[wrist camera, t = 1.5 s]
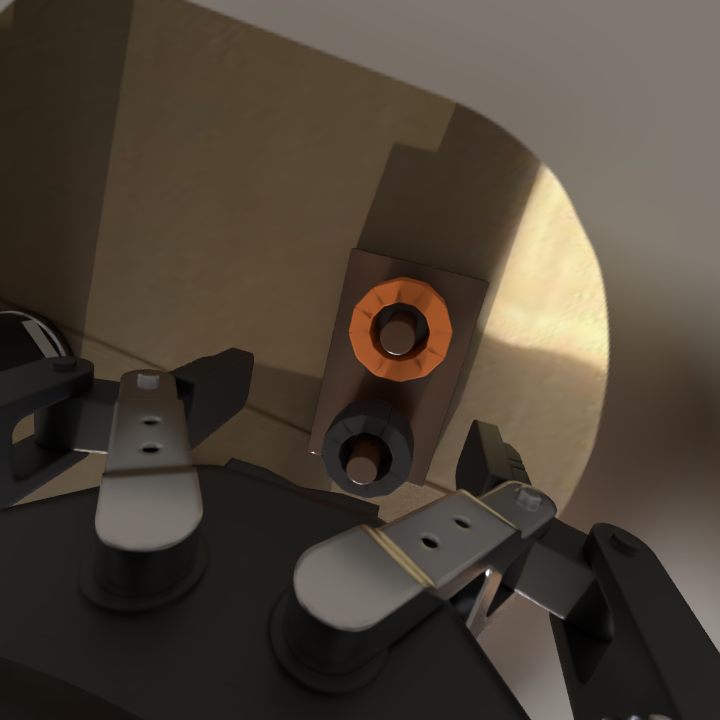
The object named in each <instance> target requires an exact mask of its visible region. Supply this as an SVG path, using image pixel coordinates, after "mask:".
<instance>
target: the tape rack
mask: <svg viewBox="0 0 720 720" xmlns="http://www.w3.org/2000/svg"><path fill="white" fill-rule="evenodd" d="M399 277H402V278H403V277H407V278H411V279H415V280H419V281H423V282H426V284H427V283H428V284H429V285H430V286H431V287H432V288H433V289H434V290H435V291H436V292H437V293H438V294H439V295H440V296H441V297H442V298H443V299H444V301H445V303H446V307H447V311H448V315H449V319H450V323H451V327H452V331H453V332H452V337H451V340H450V343H449V347H448V350H447V353H446V356H445V357H444V360H443V361H441V362H440V363H439V364H438V365H437V366H436V367H435V368H434V369H433V370H432V371H430V372H429V373H428V374H427V375H425V376H423V377H419V378H415V379H410V380H406V381H402V382H400V381H399V382H398V381H395V380H391V379H387V378H384V377H380V376H377V375H375V374H373V373H372V372H371V371H370V370H369V369H368V368H367V367H366V366H365V365H364V364H363V363H362V362H361V361H360V360H359V359H358V358H357V356H356V355H355V352H354V348H353V345H352V342H351V338H350V335H349V328H350V324H351V319H352V315H353V311H354V308H355V306H356V304H357V303H358V302H359V301H360V300H361V299H362V298H363V297H364V296H365V295H366V294H367V293H368V292H369V291H370V290H371V289H372V288H373V287H375V286H376V285H378V284H379V283H382V282H385V281H389V280H392V279H396V278H399ZM488 286H489V282H488V281H485V280H481V279H477V278H473V277H469V276H465V275H461V274H457V273H453V272H449V271H445V270H441V269H437V268H433V267H429V266H425V265H421V264H417V263H413V262H409V261H405V260H401V259H397V258H393V257H389V256H385V255H381V254H377V253H373V252H369V251H365V250H361V249H357V248H352V249H351V253H350V258H349V262H348V267H347V272H346V276H345V281H344V285H343V290H342V294H341V299H340V304H339V308H338V313H337V317H336V322H335V326H334V331H333V336H332V340H331V345H330V349H329V354H328V358H327V363H326V368H325V372H324V377H323V381H322V386H321V390H320V395H319V400H318V404H317V409H316V413H315V418H314V422H313V427H312V432H311V436H310V441H309V445H308V450H307V452H310V453H313V454H316V455H320V456H321V450H322V445H323V441H324V437H325V434H326V432H327V430H328V429H329V427H330V425H331V423H332V422H333V420H334V418H335V416H337V415H338V414H339V413H340V412H341V411H342V410H343V409H344V408H345V407H346V406H347V405H348V404H350V403H352V402H357V401H361V400H366V399H375V400H378V401H381V402H385V403H388V404H392V406H394V407H396V408H397V409H398V410H399V411H400V412H401V413H402V414H403V415H404V416H405V417H406V418H407V419H408V421H409V422H410V426H411V429H412V433H413V436H414V453H413V462H412V465H411V469H410V472H409V475H408V478H407V480H406V482H408V483H411V484H414V485H418V486H421V487H423V484H424V481H425V478H426V475H427V472H428V469H429V466H430V463H431V460H432V457H433V454H434V450H435V447H436V444H437V441H438V438H439V435H440V432H441V429H442V426H443V423H444V420H445V417H446V414H447V411H448V408H449V405H450V402H451V399H452V396H453V393H454V389H455V386H456V383H457V380H458V377H459V374H460V371H461V368H462V365H463V362H464V359H465V356H466V353H467V350H468V347H469V344H470V341H471V338H472V335H473V332H474V329H475V325H476V322H477V319H478V316H479V313H480V310H481V307H482V304H483V301H484V298H485V295H486V292H487V289H488ZM376 327H377V330H378V334H379V337H380V341H381V344H382V346H383V348H384V349H385V350H386V351H387V352H389V353H391V354H394V355H401V354H404V353H406V352H408V351H409V350H410V349H412V348H416V347H417V346H418V345H419V344H420V343H421V342H422V341H423V340H425V339H426V338H427V334H428V331H429V326H428V322H427V318H426V317H425V316H424V315H423V314H422V313H421V312H420V311H419V310H418V309H417V308H416V307H415V306H413V305H409V304H405V303H401V302H398V303H394V304H391V305H387V306H384V307H383V308H382V309H381V310H380V311H379V313H378V317H377V321H376ZM348 441H349V444H350V447H351V449H352V450H353V451H352V454H351V456H350V459H349V461H348V464H347V467H346V470H347V474H348V476H349V478H350V479H351V480H352V481H354V482H355V483H358V484H368V483H370V482H372V481H373V480H374V479H375V478H376V475H377V471H378V467H379V463H380V459H385V458H386V457H387V456H388V455H389V454H390V453H391V450H390V447H389V445H388V444H387V443H385V442H384V441H383V440H382V439H381V438H380V437H379V436H376V435H372V434H369V433H366V432H364V433H359V434H354V435H351V436H350V437H349V438H348Z"/></svg>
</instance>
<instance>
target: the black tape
mask: <svg viewBox="0 0 720 720" xmlns="http://www.w3.org/2000/svg"><path fill="white" fill-rule="evenodd" d="M364 432H366V433H369V434H372V435H376V436H379V437H380V438H381V439H382V440H383V441H384V442H385V443H387V444H388V445H389V447H390V450H391V453H390V454H389V455H388V456H387V457H386V458H385V459H380V463H379V467H378V471H377V475H376V478H375V479H374V480H373V481H372V482H370V483H368V484H358V483H355V482H354V481H352V480H351V479H350V478H349V476H348V474H347V470H346V467H347V464H348V461H349V459H350V456H351V454H352V451H353V450H352V449H351V447H350V444H349V441H348V438H349V437H350V436H351V435H354V434H359V433H364ZM413 453H414V436H413V433H412V429H411V426H410V422H409V421H408V419H407V418H406V417H405V416H404V415H403V414H402V413H401V412H400V411H399V410H398V409H397V408H396V407H394V406H392V404H388V403H385V402H381V401H378V400H375V399H366V400H361V401H357V402H352V403H350V404H348V405H347V406H346V407H345V408H344V409H343V410H342V411H341V412H340V413H339V414H338V415H337V416H335V418H334V420H333V422H332V423H331V425H330V427H329V429H328V430H327V432H326V434H325V437H324V441H323V445H322V450H321V458H322V461H323V464H324V467H325V470H326V472H327V475H328V476H329V477H330V478H331V479H332V480H333V481H334V482H335V483H336V484H337V485H338V486H339V487H340V488H341V489H342V490H345V492H347V493H350V494H354V495H357V496H360V497H363V498H373V497H380V496H386V495H389V494H391V493H392V492H393V491H395V490H396V489H397V488H398V487H400V486H401V485H402V484H403V483H405V482H406V480H407V478H408V475H409V472H410V469H411V465H412V462H413Z"/></svg>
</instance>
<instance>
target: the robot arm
mask: <svg viewBox="0 0 720 720" xmlns="http://www.w3.org/2000/svg"><path fill="white" fill-rule="evenodd" d="M253 364H254V355H253V353H250V352H247V351H243V350H240V349H237V348H230V349H228V350H226V351H224V352H221V353H219V354H217V355H215V356H208V357H202V358H199V359H197V360H195V361H193V362H192V363H188V364H186V365H185V366H182V367H179V368H177V369H175V370H173V371H171V372H168V373H166V372H163V371H158V370H150V369H143V370H134V371H130V372H127V373H125V374H123V375H122V377H121V381H120V382H116V381H109V380H102V379H95V378H94V364H93V363H92V362H90V361H88V360H85V359H82V358H77V357H73V356H72V353H71V350H70V348H69V346H68V344H67V342H66V340H65V339H64V337H63V336H62V334H61V333H60V332H59V331H58V330H57V328H56V327H55V326H54V325H52V324H51V323H50V322H49V321H48V320H46V319H45V318H43V317H42V316H40V315H38V314H36V313H33V312H30V311H26V310H11V311H4V312H0V720H531V719H530V718H529V716H528V715H527V713H526V712H525V710H524V709H523V707H522V706H521V705H520V703H519V702H518V700H517V699H516V697H515V696H514V694H513V693H512V691H511V690H510V688H509V687H508V685H507V684H506V683H505V681H504V680H503V678H502V677H501V675H500V674H499V672H498V671H497V669H496V668H495V667H494V665H493V664H492V662H491V661H490V659H489V658H488V656H487V655H486V653H485V652H484V651H483V649H482V648H481V646H480V645H479V643H478V642H477V640H476V639H477V638H478V636H479V635H480V634H481V633H482V632H483V631H484V630H485V629H486V628H487V627H488V626H489V625H490V624H491V623H492V622H493V621H494V620H495V619H496V618H497V617H498V616H499V615H500V614H501V613H502V612H503V611H504V610H505V608H507V607H508V606H509V605H510V604H511V603H512V602H513V601H514V600H515V599H516V597H517V596H518V594H521V595H523V596H524V597H526V598H528V599H529V600H531V601H533V602H534V603H536V604H538V605H539V606H541V607H543V608H544V609H546V610H548V611H549V617H550V622H551V626H552V630H553V634H554V639H555V643H556V647H557V651H558V655H559V659H560V663H561V667H562V671H563V676H564V680H565V684H566V688H567V692H568V696H569V700H570V705H571V709H572V712H573V717H574V720H720V653H719V652H718V650H717V649H716V647H715V646H714V644H713V642H712V641H711V639H710V638H709V636H708V635H707V633H706V632H705V630H704V629H703V627H702V626H701V624H700V622H699V621H698V619H697V618H696V616H695V615H694V613H693V612H692V610H691V609H690V607H689V605H688V604H687V602H686V601H685V599H684V598H683V596H682V595H681V593H680V592H679V590H678V589H677V587H676V585H675V584H674V582H673V581H672V579H671V578H670V576H669V575H668V573H667V572H666V570H665V569H664V567H663V566H662V564H661V562H660V561H659V560H658V558H657V557H656V555H655V553H654V552H653V551H652V550H651V549H650V548H649V547H648V546H647V545H646V544H645V543H644V542H642V541H641V540H640V539H638V538H637V537H635V536H634V535H632V534H631V533H629V532H627V531H625V530H623V529H621V528H619V527H617V526H614V525H611V524H606V523H596V524H594V525H593V527H592V528H591V530H590V532H589V535H587V534H585V533H583V532H581V531H579V530H577V529H575V528H573V527H571V526H569V525H567V524H565V523H563V522H561V521H560V520H558V519H557V518H555V515H556V513H557V508H556V505H555V504H554V502H553V501H552V500H551V499H550V498H549V497H548V496H547V495H546V494H544V493H543V492H541V491H540V490H538V489H536V488H535V487H533V486H532V485H531V482H530V480H529V477H528V475H527V472H526V471H525V467H524V465H523V464H522V460H521V458H520V455H519V453H518V452H517V451H516V450H515V449H514V448H513V447H512V446H511V445H510V444H507V443H504V442H503V441H502V438H501V435H500V433H499V430H498V427H497V426H496V425H493V424H489V423H486V422H482V421H479V420H474V421H473V423H472V425H471V427H470V430H469V433H468V436H467V438H466V441H465V444H464V447H463V450H462V452H461V455H460V458H459V461H458V464H457V469H456V476H455V478H456V491H455V492H452V493H450V494H448V495H446V496H444V497H442V498H440V499H438V500H436V501H434V502H432V503H429V504H427V505H425V506H423V507H421V508H419V509H417V510H415V511H413V512H411V513H408V514H406V515H404V516H402V517H400V518H398V519H396V520H394V521H392V522H390V523H386V522H385V521H383V520H382V519H380V518H378V517H377V516H378V511H379V507H380V506H378V505H375V504H372V503H369V502H366V501H363V500H360V499H357V498H354V497H351V496H347V495H344V494H340V493H334V492H328V491H321V490H315V489H308V488H303V487H300V486H297V485H296V484H294V483H292V482H290V481H288V480H286V479H284V478H283V477H281V476H279V475H277V474H275V473H273V472H272V471H270V470H268V469H265V468H262V467H259V466H256V465H253V464H250V463H247V462H244V461H241V460H238V459H235V458H231V459H230V460H229V461H228V462H227V463H226V464H225V465H224V466H219V465H192V459H191V452H190V451H191V450H192V449H193V448H195V447H196V446H197V445H198V444H200V443H201V442H202V441H203V440H205V439H206V438H207V437H208V436H209V435H211V434H212V433H213V432H214V431H216V430H217V429H218V428H219V427H221V426H222V425H223V424H224V423H226V422H227V421H228V420H229V419H230V418H232V417H233V416H234V415H235V414H237V413H238V412H239V411H240V410H241V409H242V408H243V407H244V405H245V403H246V401H247V398H248V394H249V388H250V382H251V376H252V370H253ZM33 413H34V434H33V435H31V436H29V437H27V438H25V439H23V440H21V441H19V442H17V443H15V444H13V445H12V433H13V430H14V428H15V426H16V425H17V423H18V422H19V421H20V420H21V419H23V418H24V417H26V416H28V415H30V414H33ZM90 452H92V453H101V454H107V458H106V465H105V471H104V473H103V474H102V479H101V485H100V486H98V487H93V488H89V489H85V490H80V491H76V492H72V493H67V494H63V495H59V496H55V497H50V498H46V499H42V500H37V501H33V502H29V503H24V504H20V505H16V506H12V505H13V504H15V503H16V502H18V501H19V500H21V499H23V498H24V497H26V496H27V495H29V494H30V493H32V492H33V491H35V490H36V489H38V488H39V487H41V486H43V485H44V484H46V483H47V482H49V481H50V480H52V479H53V478H55V477H56V476H58V475H59V474H61V473H62V472H64V471H66V470H67V469H69V468H70V467H72V466H73V465H75V464H76V463H78V462H79V461H81V460H82V459H84V458H85V457H87V456H88V455H89V454H90ZM10 506H11V507H10Z"/></svg>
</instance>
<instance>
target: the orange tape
mask: <svg viewBox="0 0 720 720" xmlns="http://www.w3.org/2000/svg"><path fill="white" fill-rule="evenodd" d="M398 302H401V303H405V304H409V305H413V306H415V307H416V308H417V309H418V310H419V311H420V312H421V313H422V314H423V315H424V316H425V317H426V318H427V322H428V326H429V331H428V334H427V338H426V339H425V340H423V341H422V342H421V343H420V344H419V345H418V346H417V347H416V348H412V349H410V350H409V351H408V352H406V353H404V354H401V355H394V354H391V353H389V352H387V351H386V350H385V349H384V348H383V346H382V344H381V341H380V337H379V334H378V330H377V327H376V321H377V317H378V313H379V311H380V310H381V309H382V308H383V307H384V306H387V305H391V304H394V303H398ZM452 332H453V331H452V327H451V323H450V319H449V315H448V311H447V307H446V303H445V301H444V299H443V298H442V297H441V296H440V295H439V294H438V293H437V292H436V291H435V290H434V289H433V288H432V287H431V286H430V285H429V284H428V283H427V284H426V282H423V281H419V280H415V279H411V278H407V277H403V278H402V277H399V278H396V279H392V280H389V281H385V282H382V283H379V284H378V285H376V286H375V287H373V288H372V289H371V290H370V291H369V292H368V293H367V294H366V295H365V296H364V297H363V298H362V299H361V300H360V301H359V302H358V303H357V304H356V306H355V308H354V311H353V315H352V319H351V324H350V328H349V335H350V338H351V342H352V345H353V348H354V352H355V355H356V356H357V358H358V359H359V360H360V361H361V362H362V363H363V364H364V365H365V366H366V367H367V368H368V369H369V370H370V371H371V372H372V373H373V374H375V375H377V376H380V377H384V378H387V379H391V380H395V381H398V382H399V381H400V382H402V381H406V380H410V379H415V378H419V377H423V376H425V375H427V374H428V373H429V372H430V371H432V370H433V369H434V368H435V367H436V366H437V365H438V364H439V363H440V362H441V361H443V360H444V357H445V356H446V353H447V350H448V347H449V343H450V340H451V337H452Z"/></svg>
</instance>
